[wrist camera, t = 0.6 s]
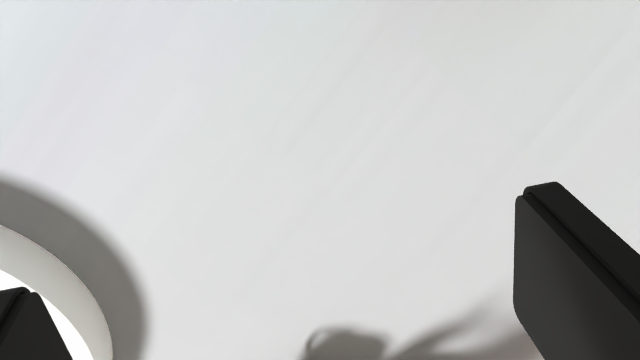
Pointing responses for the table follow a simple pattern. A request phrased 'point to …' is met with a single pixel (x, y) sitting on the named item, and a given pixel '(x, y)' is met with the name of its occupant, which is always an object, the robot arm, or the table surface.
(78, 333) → the white circle with bar
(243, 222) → the table surface
